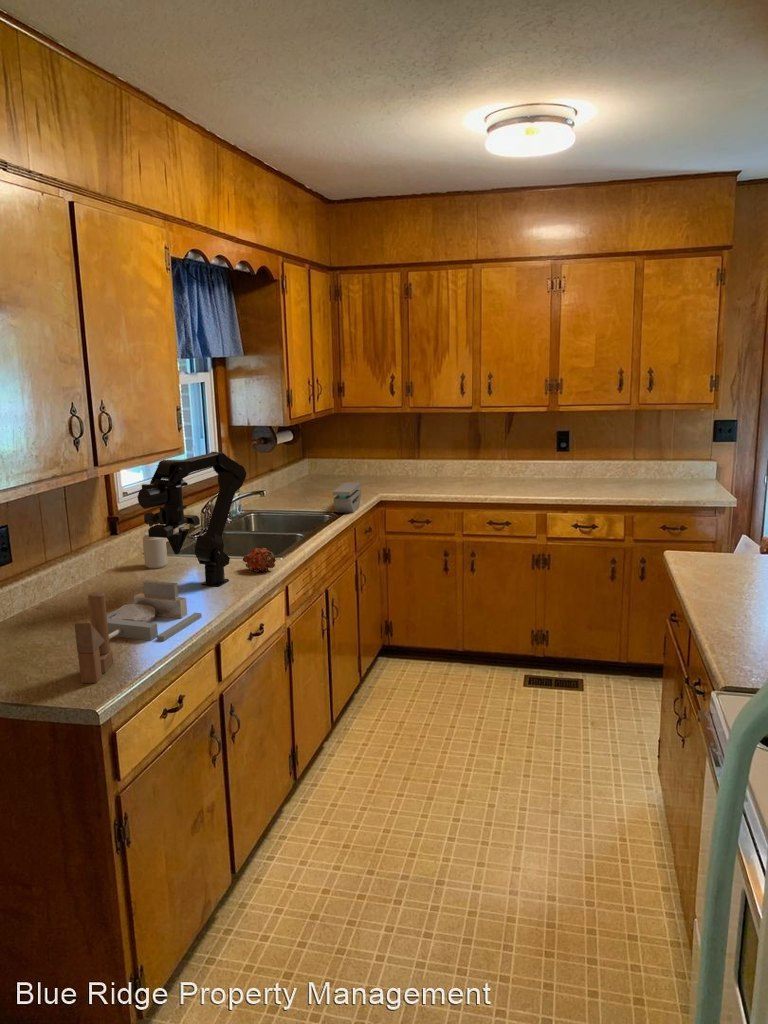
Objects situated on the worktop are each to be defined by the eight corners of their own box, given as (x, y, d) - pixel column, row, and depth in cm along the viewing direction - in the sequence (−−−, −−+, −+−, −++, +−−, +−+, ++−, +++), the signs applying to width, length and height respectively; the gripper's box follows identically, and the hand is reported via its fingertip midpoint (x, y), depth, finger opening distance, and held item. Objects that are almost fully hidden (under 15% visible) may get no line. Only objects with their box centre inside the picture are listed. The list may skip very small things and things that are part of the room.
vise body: (125, 609, 213) (123, 597, 212) (201, 617, 205) (200, 605, 205) (53, 647, 186) (51, 633, 185) (138, 657, 178) (136, 643, 178)
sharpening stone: (350, 516, 330) (349, 492, 328) (333, 515, 331) (332, 491, 329) (361, 504, 354) (361, 482, 352) (345, 504, 356) (345, 482, 353)
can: (149, 563, 260) (146, 530, 257) (170, 563, 260) (168, 529, 257) (141, 569, 253) (138, 535, 250) (163, 569, 252) (160, 535, 250)
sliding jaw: (141, 610, 212) (138, 579, 210) (187, 614, 207) (185, 584, 206) (135, 613, 209) (132, 583, 207) (181, 618, 205) (178, 587, 203)
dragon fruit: (277, 577, 246) (246, 579, 250) (283, 557, 252) (252, 560, 256) (266, 561, 240) (234, 564, 245) (273, 541, 246) (242, 544, 250)
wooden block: (80, 683, 165) (71, 606, 161) (98, 663, 175) (91, 591, 172) (97, 683, 165) (88, 606, 161) (114, 663, 175) (107, 590, 172)
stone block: (157, 621, 208) (121, 615, 208) (159, 605, 207) (123, 599, 207) (145, 638, 197) (107, 632, 196) (147, 622, 196) (109, 616, 195)
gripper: (167, 495, 229) (171, 544, 233) (130, 507, 212) (134, 560, 215) (199, 497, 226) (202, 547, 229) (163, 509, 209) (167, 562, 212)
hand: (176, 554), depth 221 cm, fingers closed
